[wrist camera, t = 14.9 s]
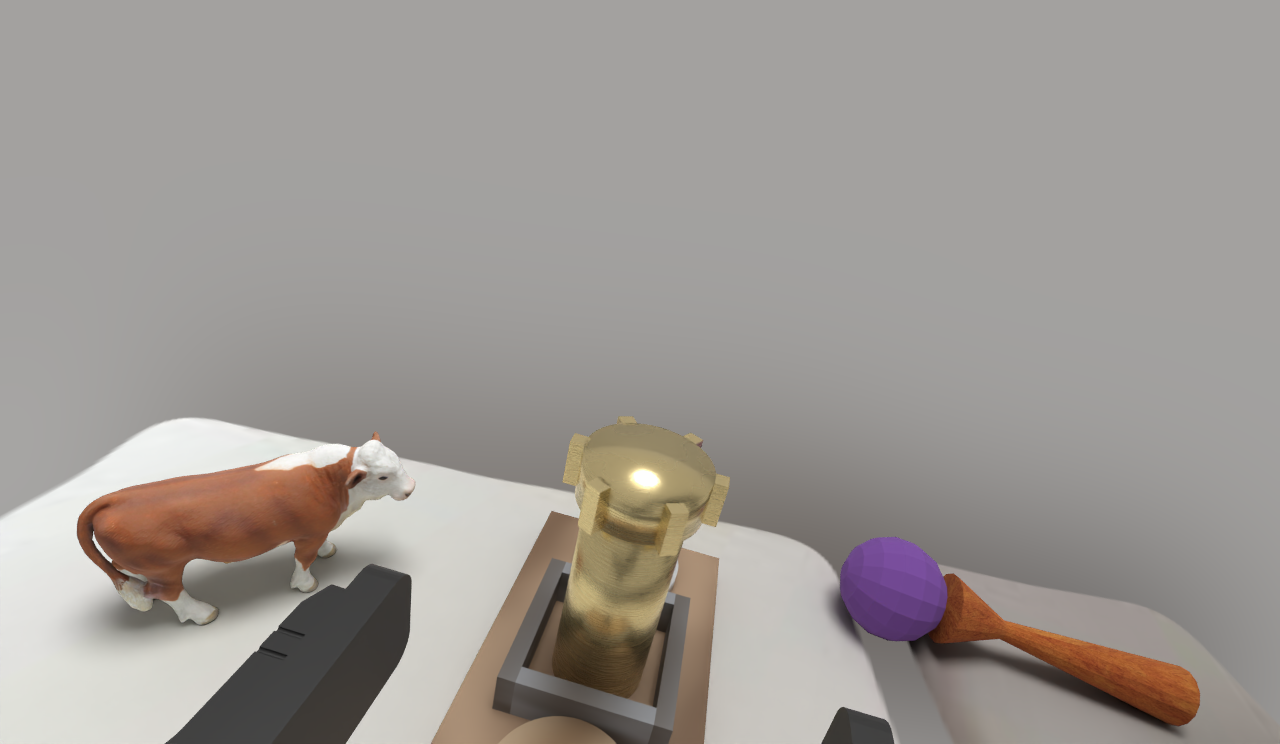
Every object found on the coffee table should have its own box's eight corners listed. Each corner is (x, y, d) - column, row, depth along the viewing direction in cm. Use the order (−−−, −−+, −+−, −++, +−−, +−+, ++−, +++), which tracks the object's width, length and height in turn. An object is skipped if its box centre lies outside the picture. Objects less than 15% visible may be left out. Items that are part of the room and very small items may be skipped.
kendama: (1243, 722, 32) (868, 580, 33) (1159, 769, 35) (824, 638, 37) (1188, 623, 36) (864, 504, 38) (1120, 673, 40) (825, 561, 42)
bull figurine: (415, 581, 34) (423, 458, 30) (93, 656, 26) (58, 505, 23) (398, 530, 37) (404, 414, 34) (107, 584, 30) (78, 443, 26)
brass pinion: (671, 635, 32) (733, 444, 27) (651, 743, 26) (724, 529, 21) (553, 599, 32) (591, 404, 27) (510, 697, 27) (548, 478, 22)
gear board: (713, 576, 39) (728, 531, 37) (675, 981, 21) (702, 923, 19) (548, 529, 40) (556, 482, 38) (372, 877, 21) (375, 815, 20)
